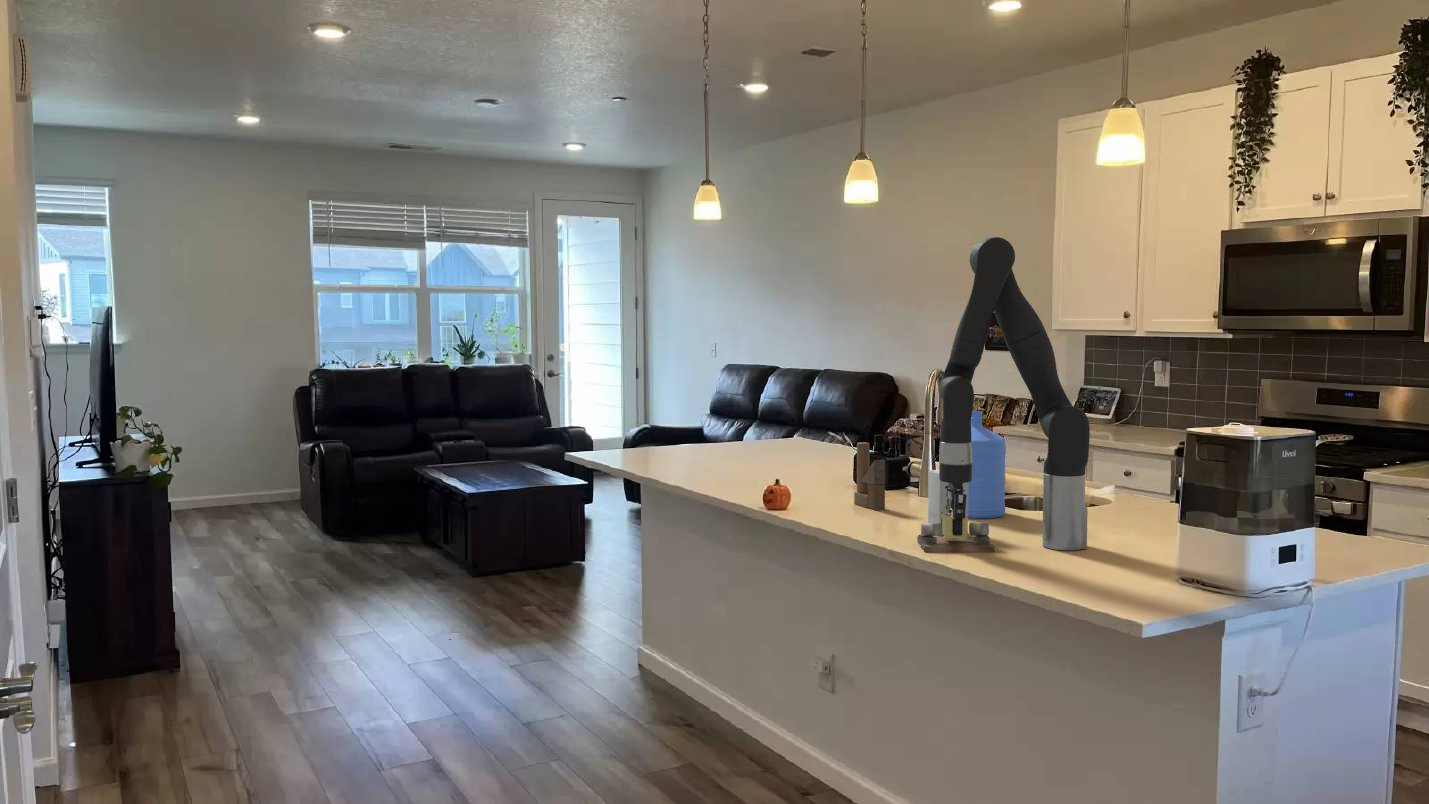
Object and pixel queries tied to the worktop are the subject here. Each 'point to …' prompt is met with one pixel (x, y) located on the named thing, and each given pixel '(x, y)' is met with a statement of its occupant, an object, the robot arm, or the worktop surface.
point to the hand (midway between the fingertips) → (955, 532)
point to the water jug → (986, 472)
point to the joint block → (947, 526)
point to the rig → (955, 539)
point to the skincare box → (939, 497)
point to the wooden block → (869, 479)
